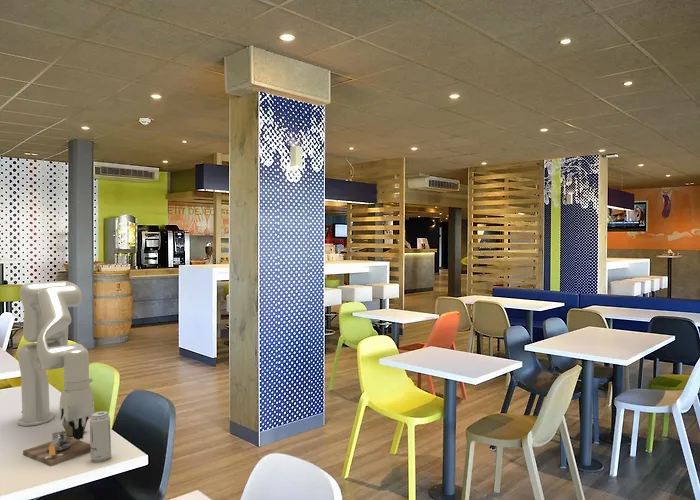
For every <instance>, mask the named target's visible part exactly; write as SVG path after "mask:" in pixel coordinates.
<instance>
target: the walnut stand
mask: <svg viewBox="0 0 700 500" xmlns="http://www.w3.org/2000/svg"><path fill="white" fill-rule="evenodd" d="M52 441H53V440H52ZM52 441H48V442H45V443H42V444H39V445H36V446H33V447H30V448H26V449H23V451H22V455H23V456H25V457H27V458H30V459H33V460H34V461H35V460H36V461H37V462H40V463H43V464H45V465H47V466H50V467H52V466H55V465H58V464H60V463H64V462H66V461H68V460H71V459H72V460H73V459H75V458H78V457H80V456H83V455H86V454H88V453H91V446H90V443H89V442H86V441H82V440H81V439H80V440H77V439H74V437H71V436H68V435H66V441H67V442H70V448H68V449H66V450H64V451H60V452H56V454H55V455H50V456H49V452H48V451H47V446H49V445H50V444H51V443H52Z"/></svg>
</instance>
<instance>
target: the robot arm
mask: <svg viewBox="0 0 700 500" xmlns="http://www.w3.org/2000/svg"><path fill="white" fill-rule="evenodd" d="M19 299H20V302H21V304H22V307H23V321H22V322H23V323H22V324H23V326H22V327H23V329H22V334H23V335H22V337H23V339H24V340H25V341H26V342H29V343H27V344H24V345H22V346H20V348H18V350H17V353H16V354H17V361H18V365H19V371H20V383H21V384H20V385H21V386H20V387H21V389H20V390H21V408H22V409H21V411H20V413H21V415H22V418H20V419H18V420H17V424H18V425H19V426H21V427H32V426H33V427H34V426H38V425H43V424H45V423H48V422H51V421H53V420H54V419H55V415H54V414H53V413H51V412H50V408H51V407H50V385H49V384H50V383H49V375H48V373H47V372H46V371H45V370H47V371H51V370H56V369H63V379H64V381H63V383H64V384H63V385H64V386H63V388H64V390H62V391H61V394H60V397H59V398H60V399H59V408H58V410H59V411H58V412H59V413H58V415H59V416H58V417H59V420H61V422H60V423H61V426H62V427H63V426H67V425H69V426H71V427H72V429H73V436H72V438H74V439H77V440H80V441H81V440H82V439H84V434H85V433H84V432H85V430H84V426H85V423H86V422H87V423H88V421H89V420H90V418H91V417H92V414H93V413H95V400H94V394H93V388H92V386H90V383H92V382H93V378H91V377H90V371H89V370H90V369H89V351H88V349H87V348H86V347H85V346H84V345H83V344H81V343H75V344H74V343H72V344H68V343H69V342H68V341H69V325H70V324H72V317H71V314H70V313H71V312H70V310H69V308H72V307H73V308H74V307H75V308H76V307H78V306H80V305H81V303H82V301H83V293H82V290H81V289H80V287H79V286H78V285H77V284H75V283H73V282H70V281H68V280H57V281H55V280H53V281H38V282H29V283H24V284H22V285H21V286H20V289H19ZM41 367H42V368H41ZM44 369H45V370H44ZM77 419H78V421H77Z"/></svg>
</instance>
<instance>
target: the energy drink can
mask: <svg viewBox="0 0 700 500" xmlns="http://www.w3.org/2000/svg"><path fill="white" fill-rule="evenodd" d="M108 413H109V412H108V411H106V410H105V411H103V410H101V411H94V413H93V414H92V417H91V418H90V419H89V440H90V443H89V444H90V446H91V452H90V458H91V460H92V461H93V462H95V463H101V462H105V461H107V460H109V459H110V457H111V456H112V440H111V438H112V437H111V436H112V435H111V418H110V415H109V414H108Z"/></svg>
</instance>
